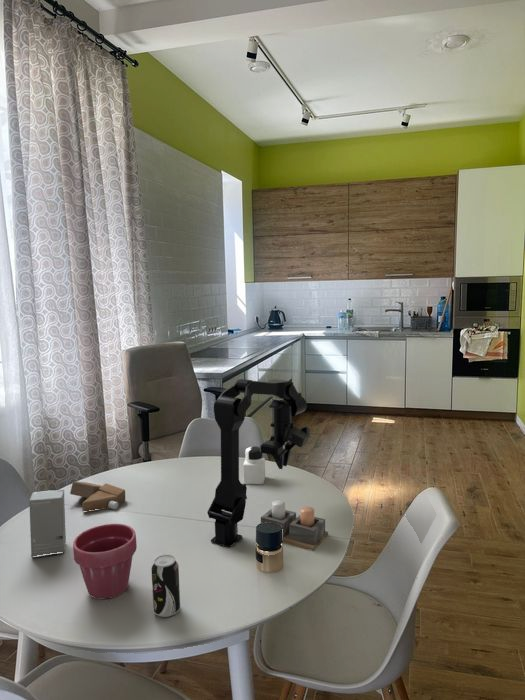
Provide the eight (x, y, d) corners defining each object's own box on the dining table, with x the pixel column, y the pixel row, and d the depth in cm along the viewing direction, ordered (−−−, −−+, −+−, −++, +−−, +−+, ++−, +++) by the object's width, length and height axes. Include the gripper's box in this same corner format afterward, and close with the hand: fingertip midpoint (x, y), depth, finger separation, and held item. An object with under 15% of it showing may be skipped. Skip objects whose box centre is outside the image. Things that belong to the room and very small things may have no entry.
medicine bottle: (265, 476, 189) (264, 445, 187) (263, 484, 182) (262, 451, 180) (245, 476, 190) (245, 444, 188) (243, 484, 183) (242, 451, 181)
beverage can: (148, 611, 114) (145, 560, 112) (170, 599, 118) (168, 550, 116) (163, 623, 110) (160, 570, 108) (185, 610, 114) (183, 559, 112)
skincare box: (31, 559, 136) (26, 501, 134) (35, 546, 143) (30, 491, 141) (65, 554, 138) (61, 497, 136) (68, 541, 145) (64, 487, 143)
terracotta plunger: (310, 531, 141) (310, 514, 140) (298, 528, 143) (297, 511, 142) (316, 525, 144) (316, 508, 143) (304, 522, 146) (304, 505, 145)
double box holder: (313, 550, 138) (313, 533, 137) (257, 535, 146) (257, 519, 145) (328, 534, 146) (328, 517, 145) (274, 521, 155) (274, 505, 154)
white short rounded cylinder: (281, 524, 145) (281, 507, 145) (269, 521, 147) (269, 504, 146) (287, 518, 149) (287, 501, 148) (276, 515, 150) (275, 499, 150)
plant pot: (75, 578, 127) (72, 528, 125) (134, 566, 132) (132, 518, 130) (77, 613, 114) (73, 558, 112) (142, 598, 119) (139, 545, 117)
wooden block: (104, 526, 160) (59, 509, 167) (130, 503, 172) (87, 488, 179) (103, 505, 158) (57, 489, 165) (130, 484, 170) (86, 469, 176)
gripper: (291, 430, 151) (292, 482, 153) (318, 415, 167) (318, 462, 169) (258, 425, 156) (259, 475, 158) (287, 411, 172) (287, 456, 174)
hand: (282, 467), depth 165 cm, fingers open, 3 cm apart
